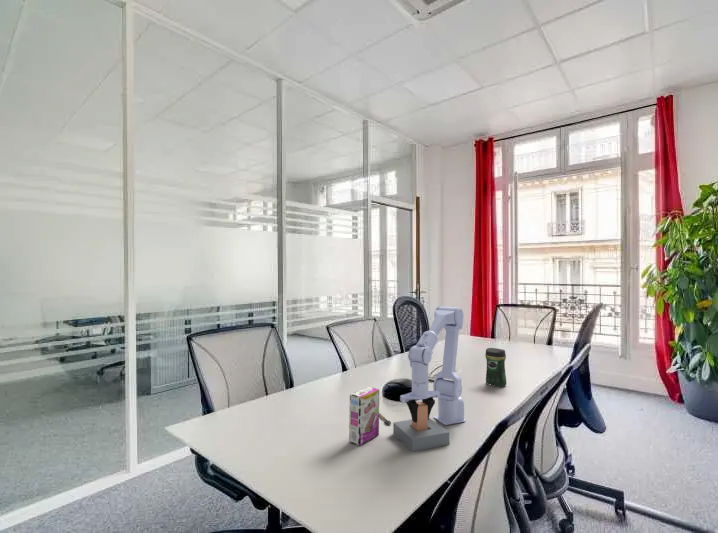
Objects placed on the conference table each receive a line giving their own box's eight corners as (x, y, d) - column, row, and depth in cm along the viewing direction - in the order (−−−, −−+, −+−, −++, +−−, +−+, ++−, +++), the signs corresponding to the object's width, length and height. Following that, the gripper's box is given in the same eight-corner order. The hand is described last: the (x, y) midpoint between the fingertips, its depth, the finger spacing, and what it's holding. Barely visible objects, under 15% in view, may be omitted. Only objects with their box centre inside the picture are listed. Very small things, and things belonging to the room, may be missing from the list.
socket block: (427, 427, 135) (427, 416, 135) (449, 444, 122) (449, 432, 122) (393, 433, 130) (393, 422, 130) (412, 451, 117) (412, 439, 117)
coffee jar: (508, 385, 185) (508, 348, 186) (501, 388, 180) (501, 351, 180) (490, 381, 192) (490, 346, 193) (483, 384, 187) (482, 348, 187)
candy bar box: (360, 447, 120) (359, 397, 120) (348, 442, 123) (348, 394, 124) (380, 435, 129) (379, 388, 129) (369, 431, 132) (368, 386, 132)
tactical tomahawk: (360, 410, 155) (359, 407, 155) (374, 407, 157) (374, 404, 157) (377, 429, 135) (376, 426, 135) (393, 425, 137) (393, 422, 137)
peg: (421, 427, 129) (421, 401, 129) (427, 431, 125) (427, 405, 125) (412, 428, 127) (411, 402, 128) (417, 433, 124) (417, 406, 124)
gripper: (431, 375, 133) (432, 413, 132) (396, 380, 127) (396, 419, 127) (442, 381, 126) (443, 420, 126) (405, 385, 121) (405, 427, 121)
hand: (420, 420), depth 126 cm, fingers closed on peg, 4 cm apart
